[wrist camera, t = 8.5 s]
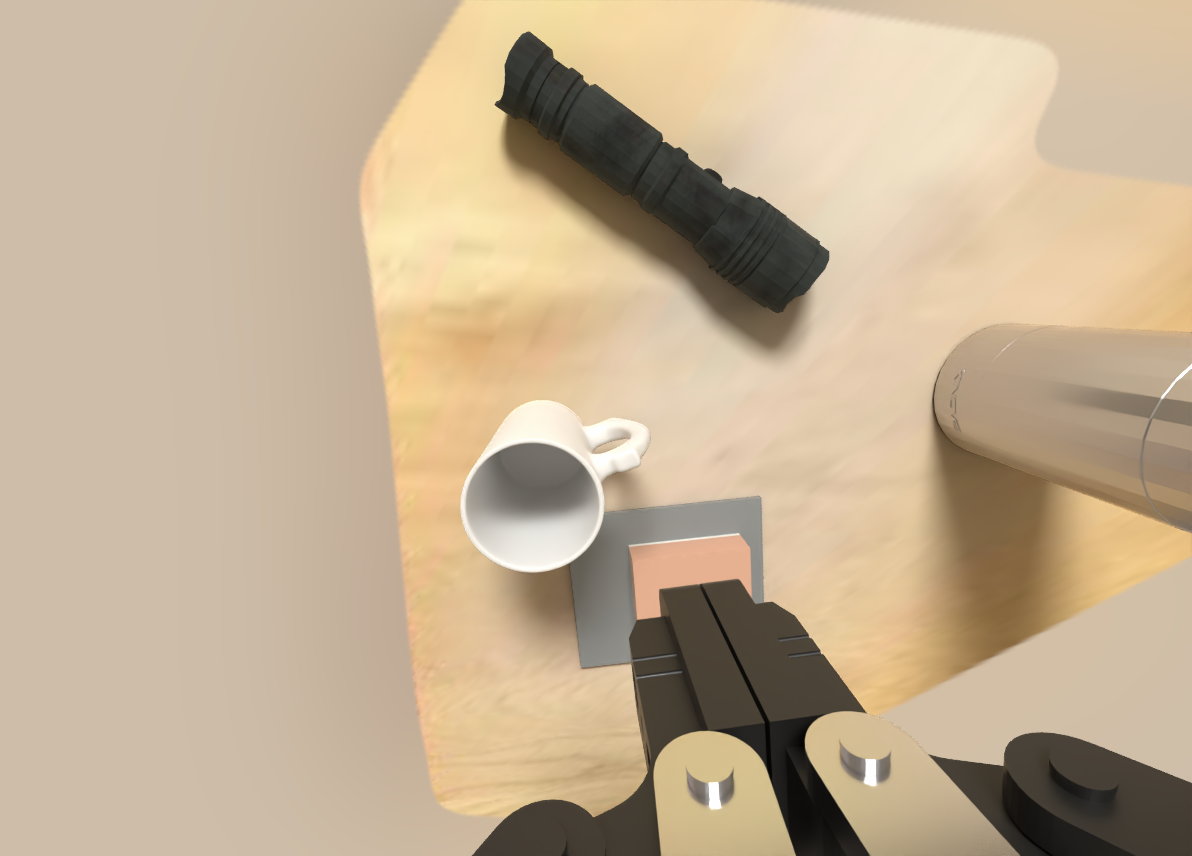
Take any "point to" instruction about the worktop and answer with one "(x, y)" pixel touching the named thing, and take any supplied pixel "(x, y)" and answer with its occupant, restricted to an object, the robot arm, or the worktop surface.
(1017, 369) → the robot arm
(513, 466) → the mug
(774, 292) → the flashlight
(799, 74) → the worktop surface
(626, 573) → the mat
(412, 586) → the worktop surface
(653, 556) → the tile
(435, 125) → the worktop surface
